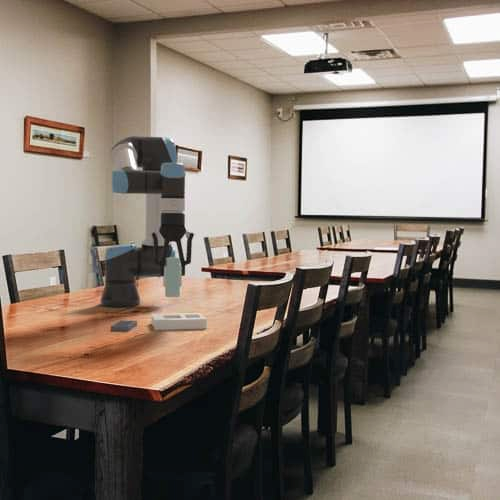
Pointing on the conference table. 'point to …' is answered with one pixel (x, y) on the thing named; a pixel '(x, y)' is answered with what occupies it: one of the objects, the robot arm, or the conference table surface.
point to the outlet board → (178, 321)
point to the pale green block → (173, 277)
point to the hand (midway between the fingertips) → (172, 286)
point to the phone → (123, 325)
